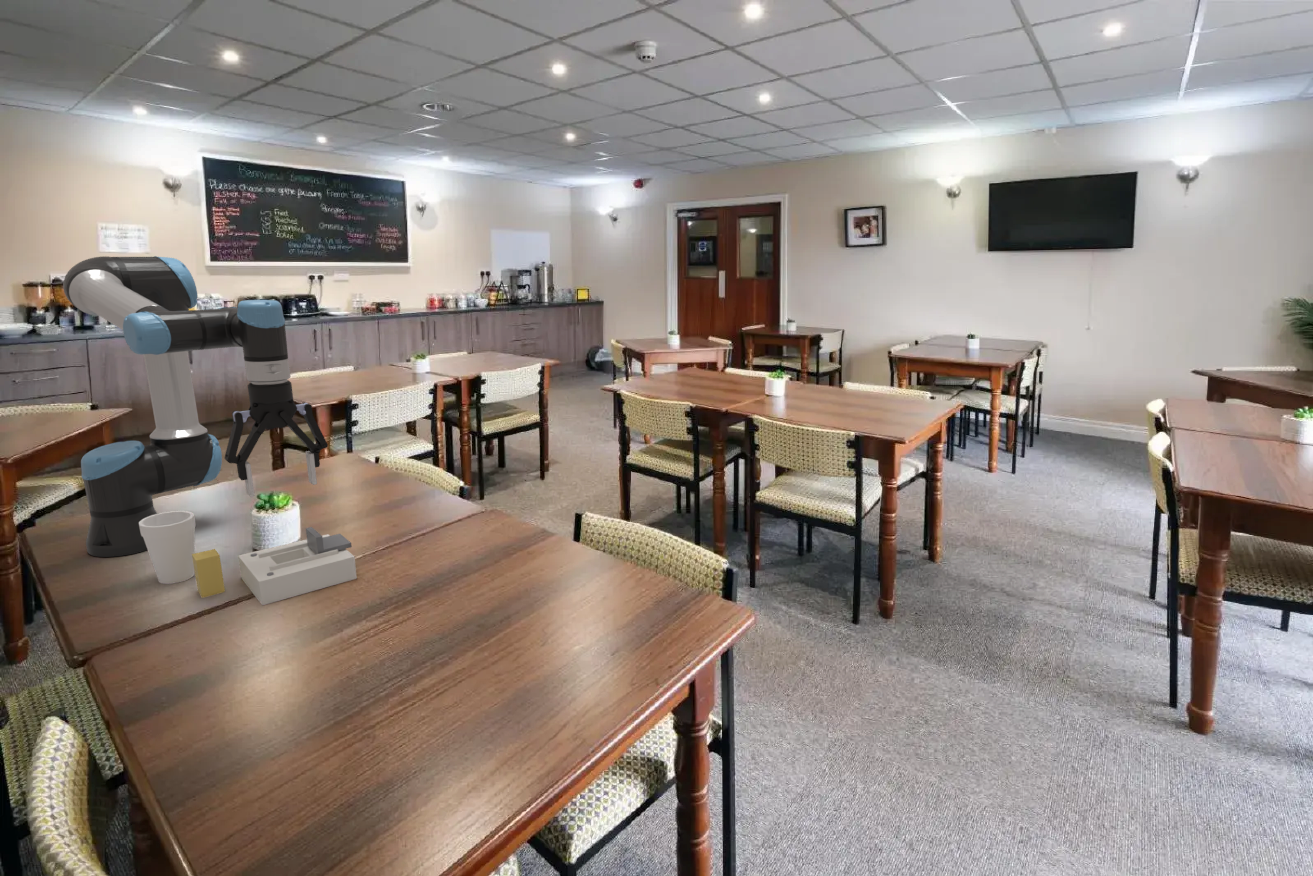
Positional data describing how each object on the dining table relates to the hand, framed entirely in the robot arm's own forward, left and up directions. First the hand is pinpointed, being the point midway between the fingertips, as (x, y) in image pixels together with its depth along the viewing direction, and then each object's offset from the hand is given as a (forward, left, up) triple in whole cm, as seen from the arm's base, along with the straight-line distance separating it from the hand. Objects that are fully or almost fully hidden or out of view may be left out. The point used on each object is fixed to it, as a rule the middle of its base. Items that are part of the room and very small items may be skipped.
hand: (282, 488), depth 143 cm
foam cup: (-17, -18, -20) cm, 32 cm away
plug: (-5, -14, -20) cm, 25 cm away
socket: (0, 0, -20) cm, 20 cm away
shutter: (0, +8, -15) cm, 17 cm away
